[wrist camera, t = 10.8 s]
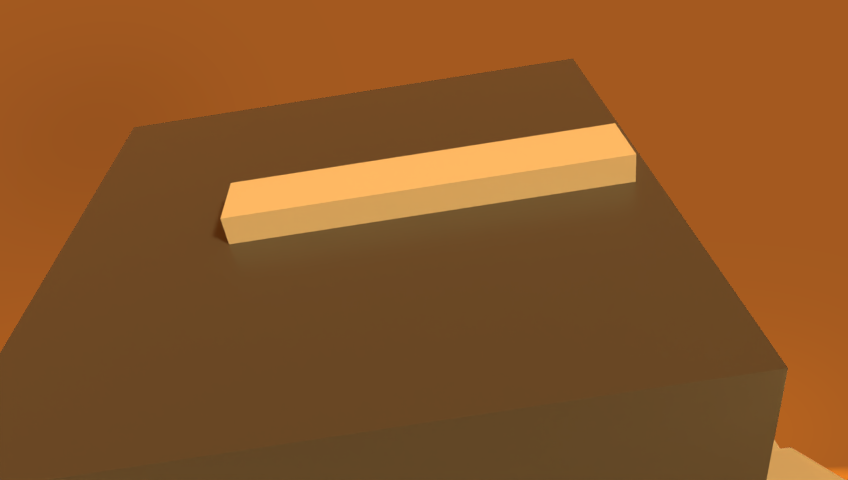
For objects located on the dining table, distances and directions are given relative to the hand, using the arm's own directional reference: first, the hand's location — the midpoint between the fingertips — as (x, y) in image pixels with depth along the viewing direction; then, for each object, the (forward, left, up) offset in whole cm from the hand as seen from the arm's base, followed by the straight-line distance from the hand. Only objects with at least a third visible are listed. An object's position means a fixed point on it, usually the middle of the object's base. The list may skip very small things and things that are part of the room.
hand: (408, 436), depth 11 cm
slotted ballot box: (0, -1, -5) cm, 6 cm away
